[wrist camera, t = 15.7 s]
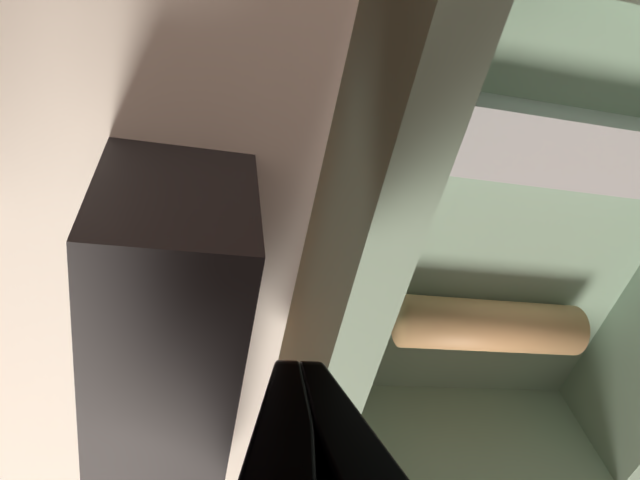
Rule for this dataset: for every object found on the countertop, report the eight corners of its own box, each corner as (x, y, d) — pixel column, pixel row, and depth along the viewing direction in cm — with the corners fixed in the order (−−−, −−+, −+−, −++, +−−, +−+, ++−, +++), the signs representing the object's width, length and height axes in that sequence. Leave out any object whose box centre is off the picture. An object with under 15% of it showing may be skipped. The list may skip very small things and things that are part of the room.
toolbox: (829, -27, 14) (1070, 23, 10) (559, 392, 23) (631, 508, 19) (388, -139, 12) (478, -133, 7) (271, 383, 20) (283, 517, 16)
